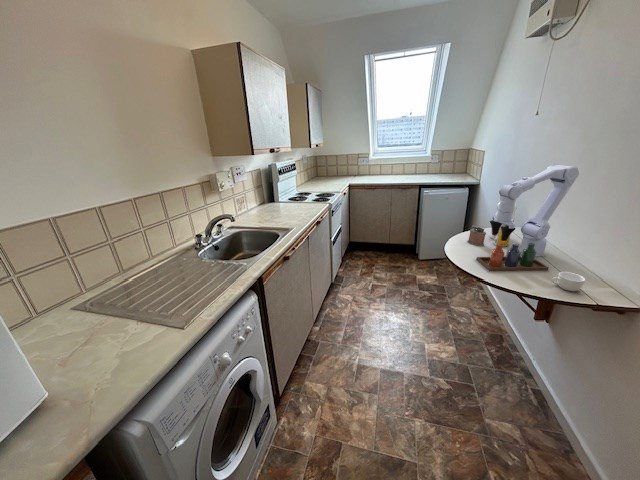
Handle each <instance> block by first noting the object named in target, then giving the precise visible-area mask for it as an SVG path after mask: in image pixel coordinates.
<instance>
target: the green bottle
mask: <svg viewBox="0 0 640 480" xmlns="http://www.w3.org/2000/svg"><path fill="white" fill-rule="evenodd" d="M534 247H535V244H533V243H529V244H528V247H527V248H525V249H523V252H522V254H520V256H521V259H520V263H519V264H520V265H522V266H525V267H532V266H533V263H534V260H535V259H536V257H537V256H536V253H537V252H536V251H535V249H534Z"/></svg>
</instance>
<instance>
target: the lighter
mask: <svg viewBox="0 0 640 480" xmlns="http://www.w3.org/2000/svg"><path fill="white" fill-rule="evenodd" d="M486 235H487V232H486V231H485V228H484V227H482V226H478V225H477V226H476V225H472V226H471V228H470V229H469V236H468V240H467V243H469V244H471V245H475V246H480V247H483V246H484V244H485V238H486Z"/></svg>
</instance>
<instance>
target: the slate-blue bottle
mask: <svg viewBox="0 0 640 480" xmlns="http://www.w3.org/2000/svg"><path fill="white" fill-rule="evenodd" d="M519 246H520V244H518V243H515V242H514V243H512V245H511V247H509V249H507V251H506V254H505V257H506V258H505V262H504V265H506V266H508V267H517V264H518V260H519V257H520V256H521V252H520V251H519V249H520V247H519Z"/></svg>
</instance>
